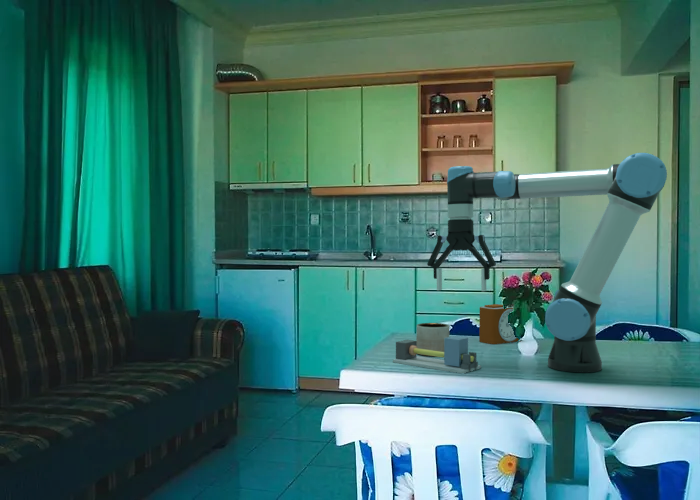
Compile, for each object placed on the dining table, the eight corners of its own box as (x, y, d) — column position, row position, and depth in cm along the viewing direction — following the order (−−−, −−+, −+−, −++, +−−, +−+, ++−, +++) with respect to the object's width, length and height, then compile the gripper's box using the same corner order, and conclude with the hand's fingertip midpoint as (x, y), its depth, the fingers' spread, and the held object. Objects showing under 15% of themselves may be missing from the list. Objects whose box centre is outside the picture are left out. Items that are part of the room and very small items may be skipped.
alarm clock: (493, 345, 234) (494, 307, 234) (476, 341, 241) (477, 304, 241) (522, 341, 242) (523, 304, 242) (505, 338, 249) (505, 302, 249)
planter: (448, 357, 210) (448, 327, 210) (414, 356, 212) (414, 326, 212) (450, 351, 221) (450, 323, 221) (417, 350, 223) (418, 322, 223)
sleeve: (467, 364, 194) (468, 337, 194) (459, 366, 190) (459, 339, 190) (453, 361, 197) (453, 336, 197) (444, 364, 193) (444, 338, 193)
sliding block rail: (481, 368, 194) (481, 347, 194) (463, 373, 186) (463, 352, 186) (410, 357, 210) (410, 338, 210) (391, 362, 203) (392, 342, 202)
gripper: (505, 218, 193) (506, 290, 193) (424, 220, 204) (425, 288, 204) (499, 217, 186) (500, 292, 187) (416, 219, 197) (417, 290, 198)
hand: (461, 290), depth 195 cm, fingers open, 13 cm apart
